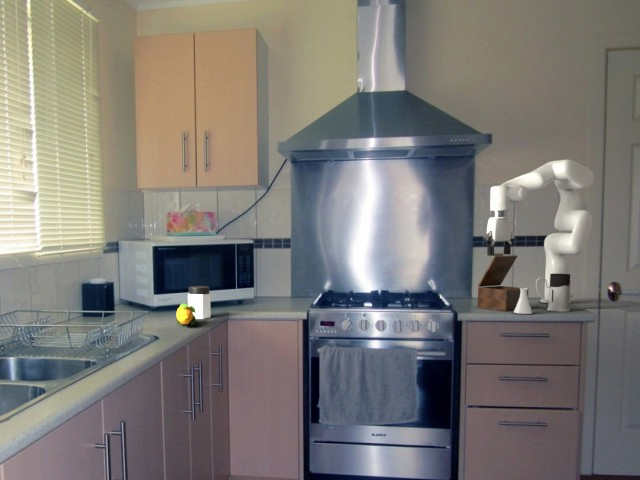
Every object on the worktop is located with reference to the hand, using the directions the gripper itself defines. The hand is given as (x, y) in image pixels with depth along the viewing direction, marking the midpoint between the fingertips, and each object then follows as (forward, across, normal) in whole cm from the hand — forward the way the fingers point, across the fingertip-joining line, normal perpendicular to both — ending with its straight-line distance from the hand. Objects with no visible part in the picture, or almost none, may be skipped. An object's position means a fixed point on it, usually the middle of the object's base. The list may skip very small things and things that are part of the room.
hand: (498, 255), depth 282 cm
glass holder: (+23, -10, +19) cm, 31 cm away
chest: (+22, +2, +4) cm, 23 cm away
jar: (+19, +127, -33) cm, 132 cm away
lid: (+7, +2, +1) cm, 7 cm away
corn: (+18, +139, -16) cm, 141 cm away
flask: (+22, +8, +20) cm, 31 cm away
